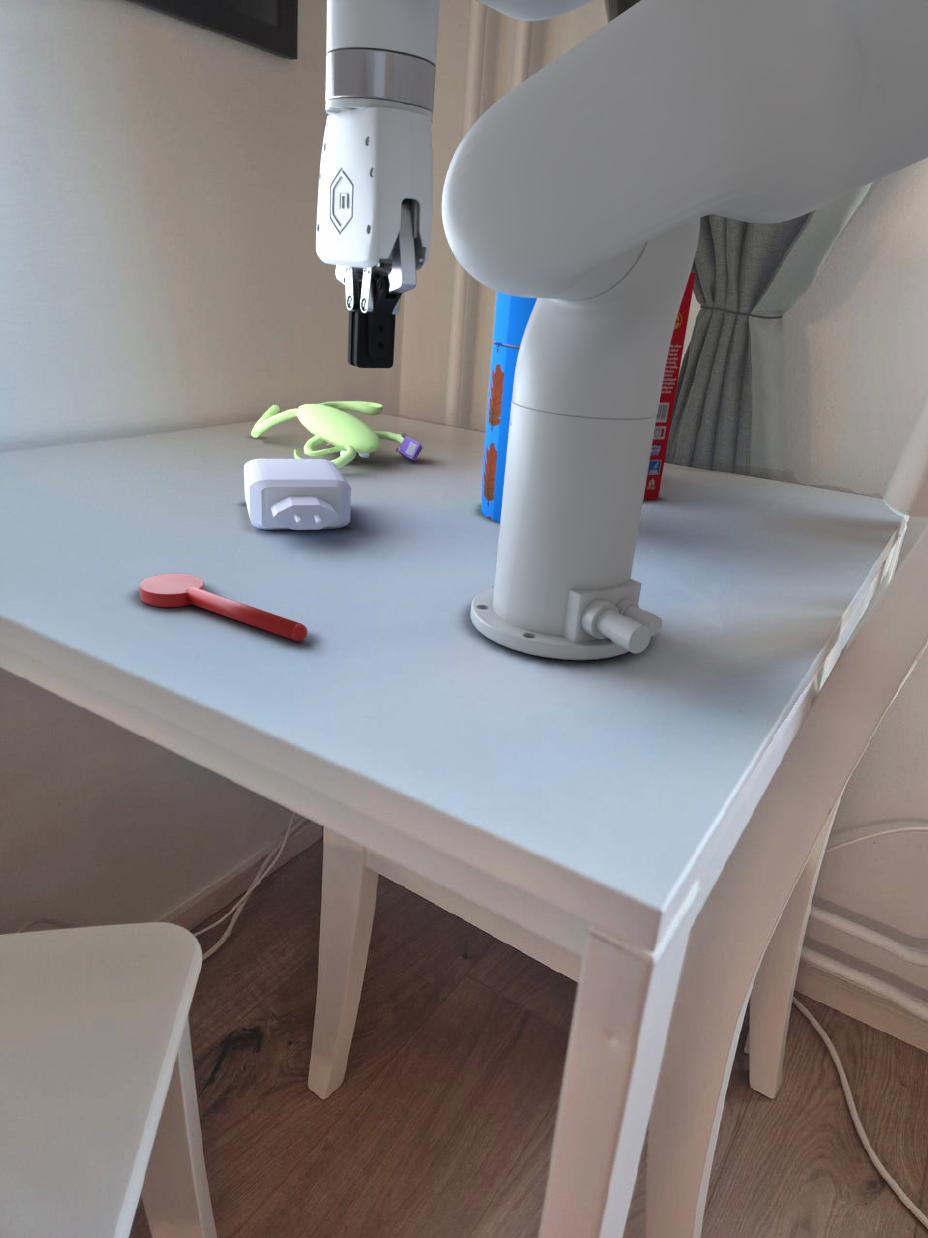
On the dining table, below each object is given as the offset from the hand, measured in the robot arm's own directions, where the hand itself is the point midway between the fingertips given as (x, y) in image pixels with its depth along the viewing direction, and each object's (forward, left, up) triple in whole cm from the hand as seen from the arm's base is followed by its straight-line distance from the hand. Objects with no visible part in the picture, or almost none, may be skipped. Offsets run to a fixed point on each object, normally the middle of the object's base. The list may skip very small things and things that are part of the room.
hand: (370, 366), depth 65 cm
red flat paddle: (-6, +15, -16) cm, 23 cm away
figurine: (+42, -17, -16) cm, 48 cm away
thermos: (+7, -23, -16) cm, 29 cm away
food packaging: (+15, -41, -16) cm, 47 cm away
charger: (+11, +1, -16) cm, 20 cm away
